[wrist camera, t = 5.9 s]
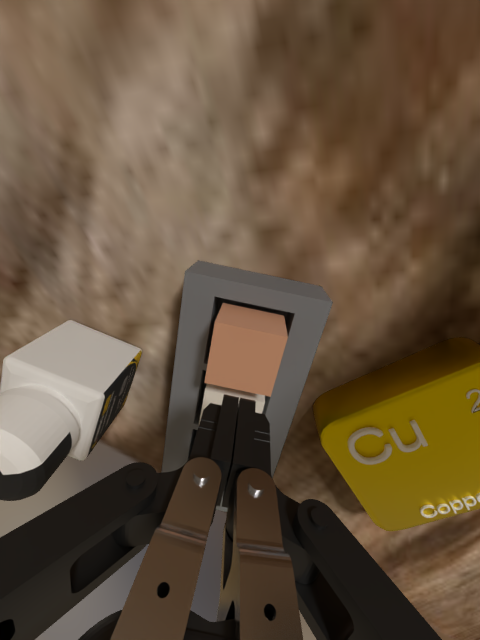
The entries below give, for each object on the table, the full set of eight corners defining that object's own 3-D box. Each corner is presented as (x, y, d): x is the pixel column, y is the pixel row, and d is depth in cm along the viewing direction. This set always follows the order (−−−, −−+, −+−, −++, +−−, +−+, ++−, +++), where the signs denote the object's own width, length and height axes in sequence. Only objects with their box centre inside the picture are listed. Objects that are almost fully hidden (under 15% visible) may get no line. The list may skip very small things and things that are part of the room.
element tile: (367, 495, 31) (384, 543, 27) (304, 398, 27) (312, 436, 22) (515, 448, 27) (564, 495, 23) (468, 326, 23) (517, 354, 19)
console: (321, 286, 22) (332, 302, 19) (264, 463, 30) (264, 499, 26) (198, 260, 22) (185, 271, 19) (173, 444, 30) (160, 477, 26)
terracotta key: (284, 315, 20) (288, 337, 16) (269, 367, 21) (270, 396, 18) (222, 302, 20) (214, 321, 16) (213, 355, 21) (204, 382, 18)
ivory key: (264, 375, 23) (264, 402, 20) (253, 415, 25) (252, 447, 22) (213, 364, 23) (204, 389, 20) (205, 405, 25) (197, 435, 22)
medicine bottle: (125, 404, 28) (36, 530, 17) (57, 377, 28) (-79, 490, 17) (144, 348, 26) (53, 456, 15) (69, 317, 25) (-84, 405, 14)
